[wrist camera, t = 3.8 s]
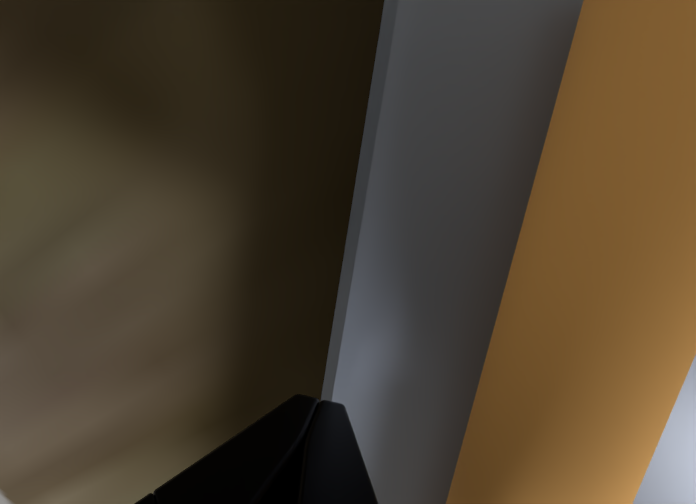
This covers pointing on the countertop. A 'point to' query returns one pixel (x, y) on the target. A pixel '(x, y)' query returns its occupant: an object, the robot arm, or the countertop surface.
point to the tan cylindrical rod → (596, 274)
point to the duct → (451, 236)
